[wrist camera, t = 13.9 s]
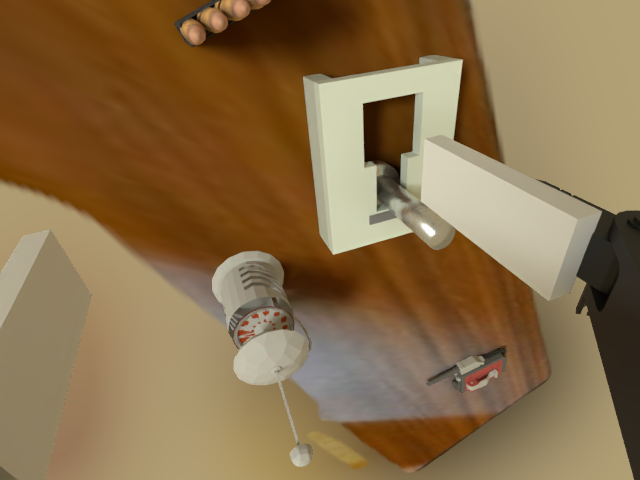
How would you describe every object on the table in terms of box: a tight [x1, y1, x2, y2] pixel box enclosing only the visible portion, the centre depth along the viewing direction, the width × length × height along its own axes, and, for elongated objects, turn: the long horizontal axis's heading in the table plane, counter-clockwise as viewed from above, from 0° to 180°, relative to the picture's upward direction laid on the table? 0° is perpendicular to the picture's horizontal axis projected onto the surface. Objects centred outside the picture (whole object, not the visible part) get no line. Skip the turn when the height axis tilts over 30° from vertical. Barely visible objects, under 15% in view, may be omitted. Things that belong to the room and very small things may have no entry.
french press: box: [212, 251, 313, 467], centre depth 40 cm, size 10×12×25 cm
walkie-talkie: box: [426, 348, 506, 393], centre depth 80 cm, size 9×4×20 cm
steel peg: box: [371, 160, 455, 250], centre depth 42 cm, size 6×6×15 cm
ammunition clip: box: [175, 0, 271, 47], centre depth 29 cm, size 11×2×12 cm, turn 116°
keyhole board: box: [303, 55, 463, 255], centre depth 44 cm, size 20×16×5 cm
